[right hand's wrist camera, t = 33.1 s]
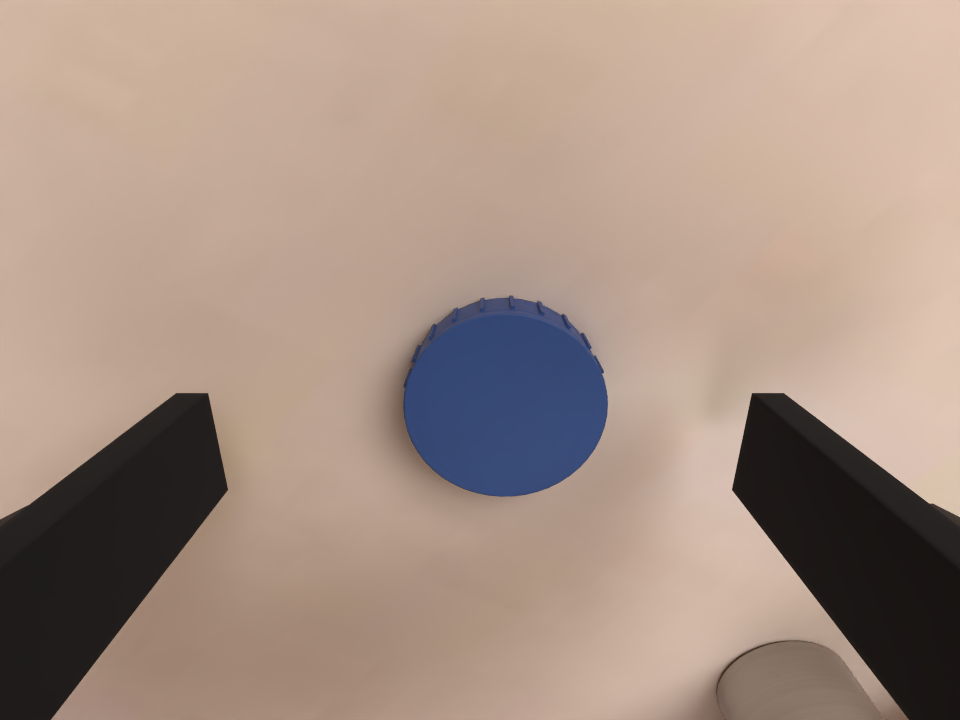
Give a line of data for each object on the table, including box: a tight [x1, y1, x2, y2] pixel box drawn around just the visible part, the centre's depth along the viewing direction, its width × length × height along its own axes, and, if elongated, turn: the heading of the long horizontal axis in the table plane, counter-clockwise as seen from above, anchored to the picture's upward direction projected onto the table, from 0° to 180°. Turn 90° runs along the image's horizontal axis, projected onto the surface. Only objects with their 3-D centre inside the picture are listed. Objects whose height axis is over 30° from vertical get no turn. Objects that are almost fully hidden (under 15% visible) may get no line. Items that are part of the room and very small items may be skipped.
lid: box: [404, 296, 608, 496], centre depth 15 cm, size 6×6×2 cm
